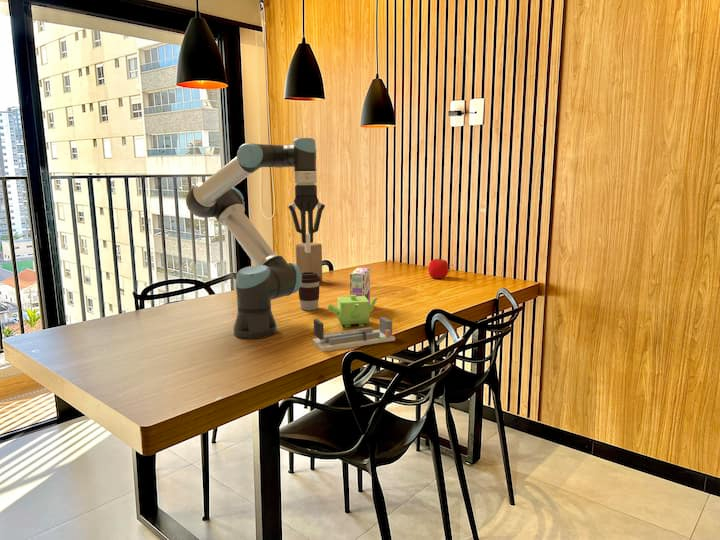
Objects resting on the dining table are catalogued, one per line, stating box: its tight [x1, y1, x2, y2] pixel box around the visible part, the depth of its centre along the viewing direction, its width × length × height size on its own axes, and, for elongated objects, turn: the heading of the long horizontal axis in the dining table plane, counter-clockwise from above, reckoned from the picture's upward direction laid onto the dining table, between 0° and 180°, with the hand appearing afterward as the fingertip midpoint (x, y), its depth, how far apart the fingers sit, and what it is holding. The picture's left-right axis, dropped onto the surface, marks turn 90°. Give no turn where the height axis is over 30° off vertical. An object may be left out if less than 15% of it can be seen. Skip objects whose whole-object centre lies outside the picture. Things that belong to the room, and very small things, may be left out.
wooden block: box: [295, 242, 323, 283], centre depth 266 cm, size 10×10×20 cm
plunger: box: [313, 318, 366, 343], centre depth 170 cm, size 16×8×7 cm, turn 114°
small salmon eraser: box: [385, 329, 390, 337], centre depth 174 cm, size 1×1×2 cm
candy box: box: [349, 267, 371, 303], centre depth 213 cm, size 14×6×16 cm, turn 168°
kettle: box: [327, 295, 381, 328], centre depth 193 cm, size 15×14×11 cm
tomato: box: [428, 258, 450, 280], centre depth 274 cm, size 10×11×11 cm
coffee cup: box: [297, 272, 322, 311], centre depth 215 cm, size 10×10×15 cm
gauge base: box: [312, 316, 396, 352], centre depth 174 cm, size 26×10×6 cm, turn 114°
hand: (307, 252), depth 181 cm, fingers closed
